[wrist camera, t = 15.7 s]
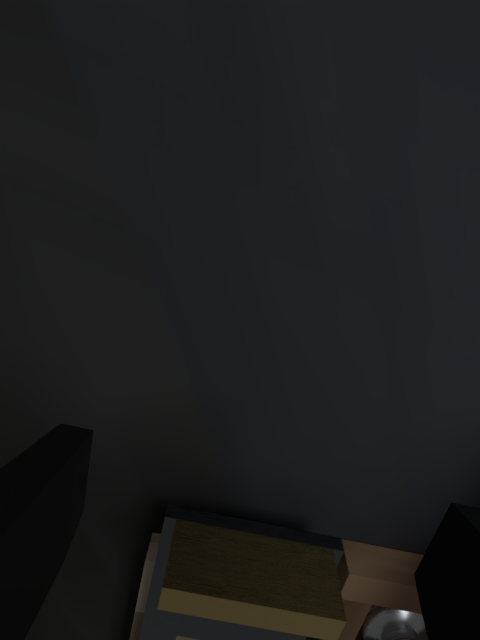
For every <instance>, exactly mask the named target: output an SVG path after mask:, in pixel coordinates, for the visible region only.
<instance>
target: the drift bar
mask: <svg viewBox="0 0 480 640" xmlns="http://www.w3.org/2000/svg"><path fill="white" fill-rule="evenodd" d="M343 552H344V550H343V545H342V540H341V538H338V537H332V536H327V535H322V534H317V533H312V532H307V531H302V530H297V529H291V528H286V527H281V526H276V525H271V524H266V523H261V522H255V521H250V520H245V519H240V518H235V517H230V516H225V515H220V514H214V513H209V512H204V511H199V510H194V509H189V508H184V507H179V506H173V505H168V506H167V510H166V514H165V519H164V523H163V528H162V533H161V537H160V542H159V547H158V551H157V556H156V561H155V565H154V570H153V575H152V580H151V584H150V589H149V594H148V598H147V603H146V608H145V612H144V617H143V622H142V626H141V631H140V636H139V640H176V637H177V636H181V637H187V638H193V639H198V640H306V638H307V637H313V638H318V639H324V640H338V639H339V637H340V635H341V632H342V630H343V628H344V626H345V624H346V622H347V621H346V616H345V610H344V605H343V600H342V594H341V589H340V584H339V579H338V573H337V566H338V564H339V561H340V559H341V557H342V554H343Z"/></svg>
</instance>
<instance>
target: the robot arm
mask: <svg viewBox="0 0 480 640" xmlns="http://www.w3.org/2000/svg"><path fill="white" fill-rule="evenodd" d="M92 435H93V430H89V429H84V428H80V427H75V426H70V425H65V424H60V425H59V426H57V427H55V428H54V429H52V430H51V431H50V432H49V433H47V434H46V435H45V436H43V437H42V438H41V439H39V440H38V441H37V442H36V443H34V444H33V445H32V446H30V447H29V448H28V449H26V450H25V451H24V452H22V453H21V454H20V455H18V456H17V457H16V458H14V459H13V460H12V461H10V462H9V463H8V464H6V465H5V466H4V467H2V468H1V469H0V640H24V639H25V637H26V635H27V633H28V631H29V629H30V627H31V625H32V623H33V621H34V619H35V617H36V615H37V613H38V612H39V610H40V608H41V606H42V604H43V602H44V600H45V598H46V596H47V594H48V592H49V590H50V588H51V586H52V584H53V582H54V580H55V578H56V576H57V574H58V572H59V570H60V568H61V566H62V564H63V562H64V559H65V557H66V554H67V552H68V549H69V547H70V544H71V542H72V539H73V536H74V534H75V531H76V528H77V526H78V523H79V521H80V518H81V515H82V513H83V509H84V501H85V493H86V485H87V476H88V468H89V460H90V452H91V443H92ZM414 577H415V582H416V587H417V592H418V597H419V602H420V607H421V611H422V616H423V620H424V625H425V629H426V632H427V636H428V639H429V640H480V508H475V507H470V506H465V505H460V504H455V503H451V505H450V507H449V508H448V510H447V512H446V514H445V516H444V518H443V520H442V522H441V524H440V526H439V527H438V529H437V531H436V533H435V535H434V537H433V539H432V541H431V543H430V545H429V546H428V548H427V550H426V552H425V554H424V556H423V558H422V560H421V562H420V564H419V566H418V567H417V569H416V571H415V573H414Z"/></svg>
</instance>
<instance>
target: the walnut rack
mask: <svg viewBox="0 0 480 640" xmlns="http://www.w3.org/2000/svg"><path fill="white" fill-rule="evenodd" d="M341 540H342V545H343V550H344V552H343V554H342V557H341V559H340V561H339V564H338V566H337V573H338V579H339V584H340V589H341V594H342V600H343V605H344V610H345V616H346V621H347V622H346V624H345V626H344V628H343V630H342V632H341V635H340V637H339V639H338V640H364V639H363V634H362V629H361V626H362V624H363V622H364V620H365V618H366V616H367V614H368V612H369V610H370V608H371V606H372V605H376V606H381V607H387V608H392V609H398V610H403V611H408V612H414V613H419V614H422V611H421V607H420V602H419V597H418V592H417V587H416V582H415V577H414V573H415V571H416V569H417V567H418V566H419V564H420V562H421V560H422V558H423V556H424V555H421V554H416V553H411V552H406V551H401V550H395V549H390V548H385V547H380V546H375V545H370V544H365V543H360V542H354V541H349V540H344V539H341ZM306 640H324V639H318V638H313V637H307V638H306Z"/></svg>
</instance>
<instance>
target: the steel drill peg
mask: <svg viewBox="0 0 480 640" xmlns="http://www.w3.org/2000/svg"><path fill="white" fill-rule="evenodd" d="M361 629H362V634H363V639H364V640H429V639H428V636H427V632H426V629H425V625H424V620H423V616H422V614H419V613H414V612H408V611H403V610H398V609H392V608H387V607H381V606H376V605H372V606H371V608H370V610H369V612H368V614H367V616H366V618H365V620H364V622H363V624H362V626H361Z"/></svg>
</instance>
